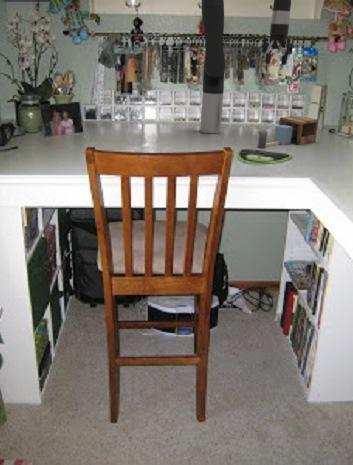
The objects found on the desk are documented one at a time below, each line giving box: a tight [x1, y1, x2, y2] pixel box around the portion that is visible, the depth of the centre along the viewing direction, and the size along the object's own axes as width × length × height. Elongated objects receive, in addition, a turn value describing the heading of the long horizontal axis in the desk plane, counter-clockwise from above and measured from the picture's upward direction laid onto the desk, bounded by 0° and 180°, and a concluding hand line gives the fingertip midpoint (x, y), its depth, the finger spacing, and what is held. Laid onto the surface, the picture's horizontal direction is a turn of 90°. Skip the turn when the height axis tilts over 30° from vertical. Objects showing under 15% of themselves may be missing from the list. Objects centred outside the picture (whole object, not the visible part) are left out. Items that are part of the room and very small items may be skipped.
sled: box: [257, 124, 293, 149], centre depth 193 cm, size 18×5×7 cm, turn 132°
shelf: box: [278, 115, 319, 146], centre depth 201 cm, size 12×11×10 cm
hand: (275, 64), depth 202 cm, fingers open, 8 cm apart
